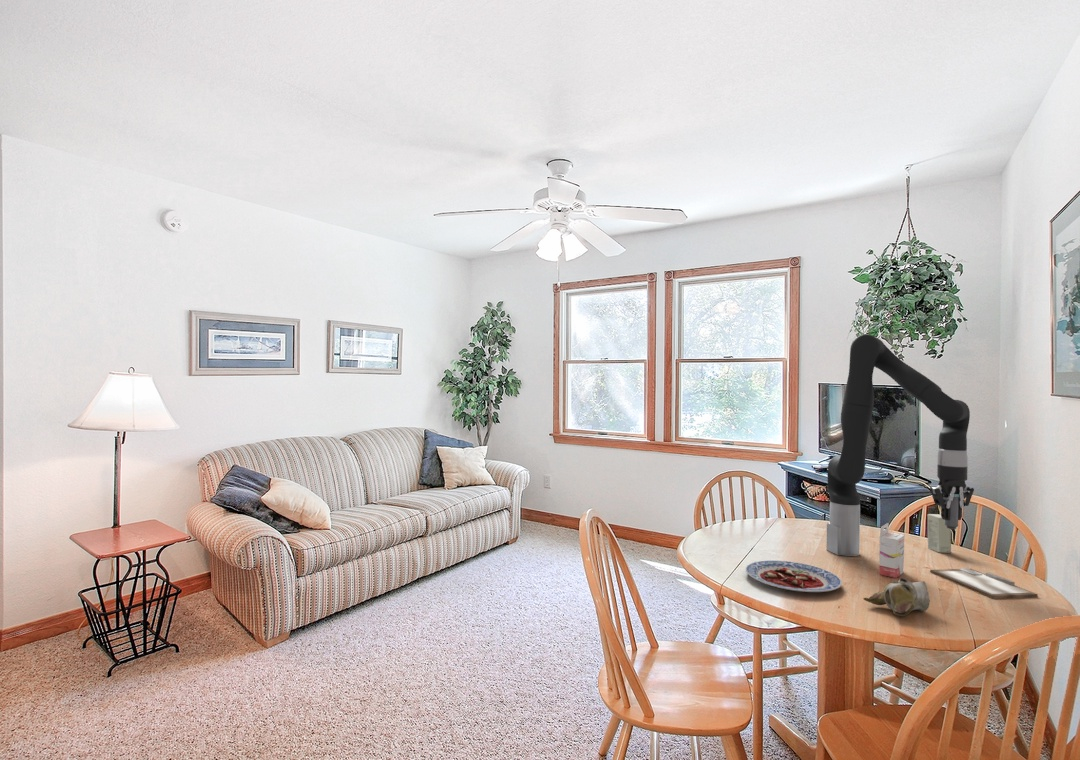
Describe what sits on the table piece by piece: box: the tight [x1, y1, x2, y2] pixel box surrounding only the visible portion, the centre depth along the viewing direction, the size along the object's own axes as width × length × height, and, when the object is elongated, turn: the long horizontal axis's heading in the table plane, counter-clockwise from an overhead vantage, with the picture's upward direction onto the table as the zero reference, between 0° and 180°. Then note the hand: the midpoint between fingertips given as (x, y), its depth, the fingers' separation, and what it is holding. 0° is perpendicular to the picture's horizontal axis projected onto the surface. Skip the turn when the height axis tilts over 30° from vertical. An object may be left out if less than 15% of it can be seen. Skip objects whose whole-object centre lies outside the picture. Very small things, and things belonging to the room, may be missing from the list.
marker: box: [945, 494, 959, 530], centre depth 174 cm, size 4×4×11 cm
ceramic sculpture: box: [863, 578, 931, 617], centre depth 144 cm, size 11×9×15 cm
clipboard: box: [929, 568, 1039, 599], centre depth 165 cm, size 14×21×2 cm, turn 7°
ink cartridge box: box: [878, 522, 905, 579], centre depth 173 cm, size 9×5×15 cm, turn 134°
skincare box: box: [927, 513, 952, 554], centre depth 198 cm, size 6×4×12 cm
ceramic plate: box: [745, 560, 843, 593], centre depth 165 cm, size 26×26×3 cm
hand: (951, 519), depth 174 cm, fingers closed on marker, 3 cm apart
